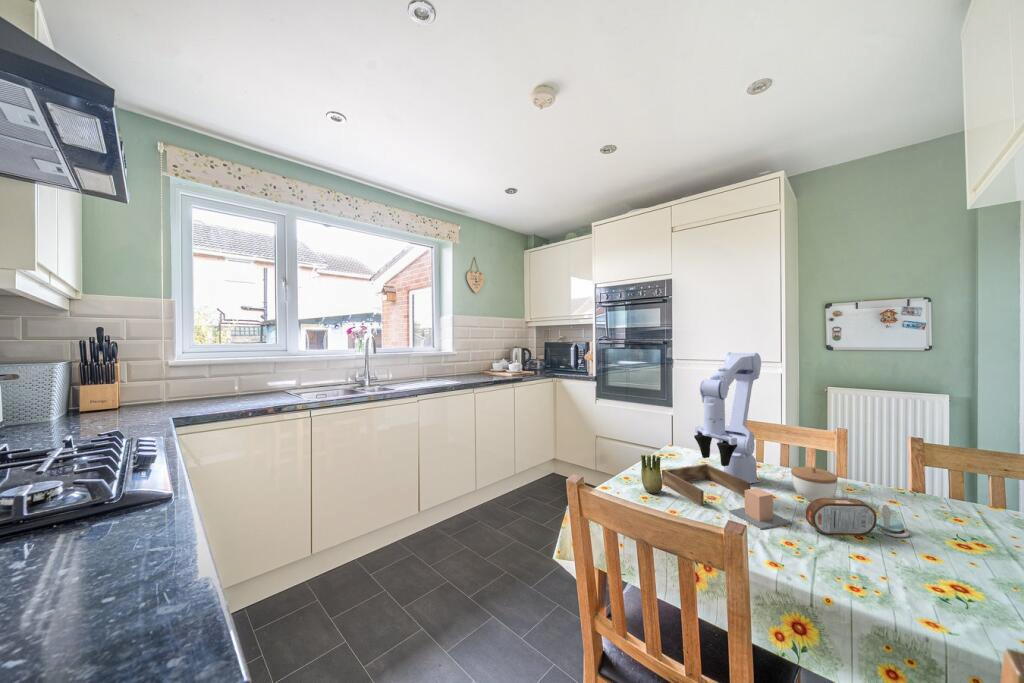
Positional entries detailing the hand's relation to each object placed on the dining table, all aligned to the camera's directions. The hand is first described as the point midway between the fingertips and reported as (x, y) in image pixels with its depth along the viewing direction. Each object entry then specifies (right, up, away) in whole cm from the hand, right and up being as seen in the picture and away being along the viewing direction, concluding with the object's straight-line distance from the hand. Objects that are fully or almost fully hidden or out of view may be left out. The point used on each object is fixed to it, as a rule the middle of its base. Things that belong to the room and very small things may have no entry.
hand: (715, 461), depth 114 cm
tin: (+19, -11, -23) cm, 31 cm away
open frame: (-2, -10, +4) cm, 11 cm away
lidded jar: (+27, -10, -4) cm, 29 cm away
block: (+4, -10, -14) cm, 18 cm away
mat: (+4, -11, -14) cm, 18 cm away
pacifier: (+31, -10, -23) cm, 40 cm away
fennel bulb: (-18, -11, +4) cm, 22 cm away
